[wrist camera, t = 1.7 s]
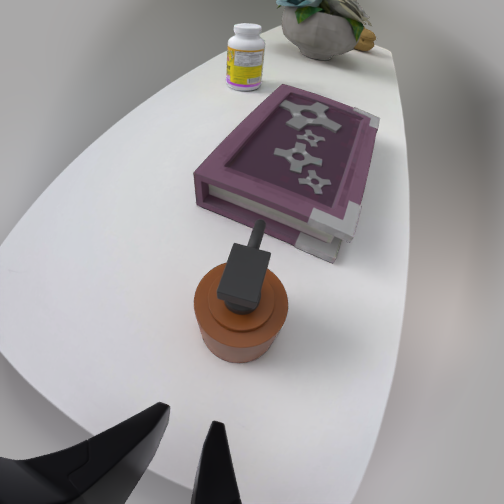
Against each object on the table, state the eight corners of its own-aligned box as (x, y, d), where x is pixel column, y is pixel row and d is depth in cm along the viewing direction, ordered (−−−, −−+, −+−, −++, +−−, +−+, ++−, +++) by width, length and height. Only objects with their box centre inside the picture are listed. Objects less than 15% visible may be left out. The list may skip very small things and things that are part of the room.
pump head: (254, 314, 16) (257, 303, 15) (217, 304, 16) (216, 291, 15) (275, 237, 19) (279, 220, 17) (243, 229, 19) (245, 211, 18)
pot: (344, 48, 73) (350, 24, 65) (337, 40, 80) (342, 18, 71) (375, 57, 74) (382, 34, 65) (366, 48, 80) (372, 26, 72)
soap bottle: (265, 371, 22) (280, 354, 16) (191, 350, 23) (176, 324, 17) (282, 304, 26) (300, 264, 19) (214, 285, 26) (210, 239, 20)
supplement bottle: (230, 77, 50) (233, 21, 39) (263, 81, 50) (269, 24, 39) (221, 89, 46) (224, 27, 35) (257, 94, 46) (264, 31, 35)
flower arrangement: (358, 82, 56) (382, -4, 35) (259, 56, 59) (268, -30, 38) (358, 58, 69) (375, -6, 48) (282, 38, 71) (291, -26, 51)
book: (335, 265, 28) (353, 237, 24) (196, 206, 31) (192, 172, 27) (369, 142, 41) (379, 117, 37) (278, 108, 44) (282, 83, 40)
